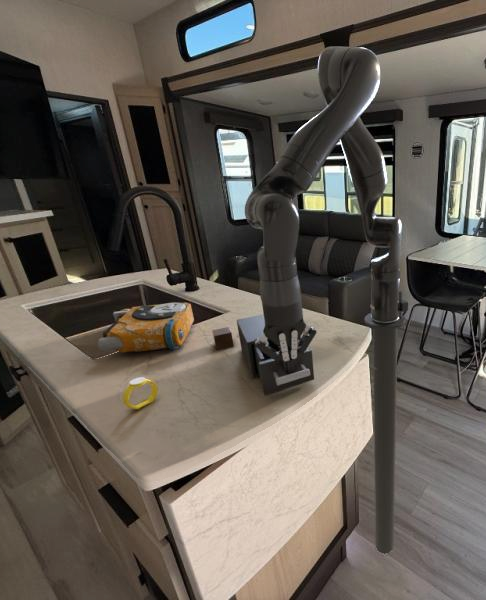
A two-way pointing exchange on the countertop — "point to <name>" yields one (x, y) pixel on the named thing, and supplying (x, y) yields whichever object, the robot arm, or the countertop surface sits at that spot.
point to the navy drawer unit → (250, 338)
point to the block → (223, 338)
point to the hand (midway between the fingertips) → (290, 372)
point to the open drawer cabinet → (281, 370)
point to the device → (148, 328)
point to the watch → (137, 383)
